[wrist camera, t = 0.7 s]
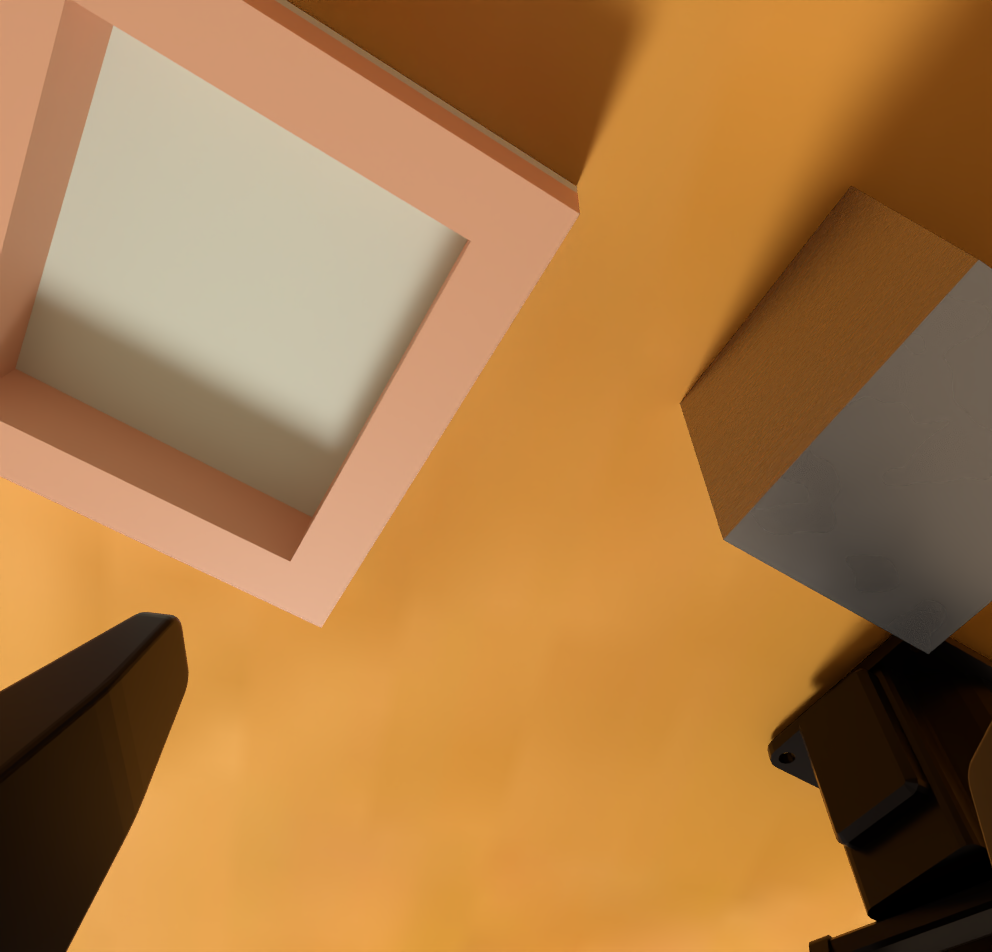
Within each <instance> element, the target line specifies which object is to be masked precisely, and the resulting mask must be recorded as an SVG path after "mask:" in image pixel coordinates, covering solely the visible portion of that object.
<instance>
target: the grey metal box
mask: <svg viewBox="0 0 992 952" xmlns="http://www.w3.org/2000/svg"><path fill="white" fill-rule="evenodd" d="M680 405H681V408H682V412H683V415H684V418H685V421H686V424H687V427H688V430H689V434H690V437H691V440H692V443H693V446H694V449H695V452H696V455H697V459H698V462H699V465H700V468H701V471H702V474H703V477H704V481H705V484H706V487H707V490H708V493H709V496H710V499H711V503H712V506H713V509H714V512H715V515H716V518H717V521H718V525H719V528H720V531H721V534H722V537H723V540H725V541H726V542H728V543H730V544H732V545H734V546H735V547H737V548H739V549H741V550H743V551H744V552H746V553H748V554H750V555H752V556H753V557H755V558H757V559H759V560H760V561H762V562H764V563H766V564H768V565H769V566H771V567H773V568H775V569H777V570H778V571H780V572H782V573H784V574H786V575H787V576H789V577H791V578H793V579H795V580H796V581H798V582H800V583H802V584H804V585H805V586H807V587H809V588H811V589H812V590H814V591H816V592H818V593H820V594H821V595H823V596H825V597H827V598H829V599H830V600H832V601H834V602H836V603H838V604H839V605H841V606H843V607H845V608H847V609H848V610H850V611H852V612H854V613H856V614H857V615H859V616H861V617H863V618H864V619H866V620H868V621H870V622H872V623H873V624H875V625H877V626H879V627H881V628H882V629H884V630H886V631H888V632H890V633H891V634H893V635H895V636H897V637H899V638H900V639H902V640H904V641H906V642H908V643H909V644H911V645H913V646H915V647H916V648H918V649H920V650H922V651H924V652H925V653H927V654H929V653H930V652H931V651H933V650H934V649H935V648H936V647H937V646H939V645H940V644H941V643H942V642H943V641H945V640H946V639H947V638H948V637H949V636H951V635H952V634H953V633H954V632H955V631H957V630H958V629H959V628H960V627H961V626H963V625H964V624H965V623H966V622H967V621H968V620H970V619H971V618H972V617H973V616H974V615H976V614H977V613H978V612H979V611H980V610H982V609H983V608H984V607H985V606H986V605H988V604H989V603H990V602H991V601H992V269H991V268H990V267H989V266H987V265H986V264H984V263H983V262H981V261H980V260H979V259H977V258H975V257H973V256H972V255H970V254H968V253H966V252H965V251H963V250H961V249H960V248H958V247H956V246H954V245H953V244H951V243H949V242H947V241H946V240H944V239H942V238H941V237H939V236H937V235H935V234H934V233H932V232H930V231H929V230H927V229H925V228H923V227H922V226H920V225H918V224H916V223H915V222H913V221H911V220H910V219H908V218H906V217H904V216H903V215H901V214H899V213H897V212H896V211H894V210H892V209H891V208H889V207H887V206H885V205H884V204H882V203H880V202H879V201H877V200H875V199H873V198H872V197H870V196H868V195H866V194H865V193H863V192H861V191H860V190H858V189H856V188H854V187H853V186H851V187H850V188H849V189H848V191H847V192H846V193H845V195H844V196H843V197H842V198H841V200H840V201H839V202H838V203H837V205H836V206H835V207H834V209H833V210H832V211H831V212H830V214H829V215H828V216H827V217H826V219H825V220H824V221H823V223H822V224H821V225H820V226H819V228H818V229H817V230H816V231H815V233H814V234H813V235H812V236H811V238H810V239H809V240H808V242H807V243H806V244H805V245H804V247H803V248H802V249H801V250H800V252H799V253H798V254H797V256H796V257H795V258H794V259H793V261H792V262H791V263H790V264H789V266H788V267H787V268H786V270H785V271H784V272H783V273H782V275H781V276H780V277H779V278H778V280H777V281H776V282H775V283H774V285H773V286H772V287H771V289H770V290H769V291H768V292H767V294H766V295H765V296H764V297H763V299H762V300H761V301H760V303H759V304H758V305H757V306H756V308H755V309H754V310H753V311H752V313H751V314H750V315H749V317H748V318H747V319H746V320H745V322H744V323H743V324H742V325H741V327H740V328H739V329H738V330H737V332H736V333H735V334H734V336H733V337H732V338H731V339H730V341H729V342H728V343H727V344H726V346H725V347H724V348H723V350H722V351H721V352H720V353H719V355H718V356H717V357H716V358H715V360H714V361H713V362H712V364H711V365H710V366H709V367H708V369H707V370H706V371H705V372H704V374H703V375H702V376H701V377H700V379H699V380H698V381H697V383H696V384H695V385H694V386H693V388H692V389H691V390H690V391H689V393H688V394H687V395H686V397H685V398H684V399H683V400H682V402H681V403H680Z"/></svg>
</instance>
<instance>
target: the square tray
mask: <svg viewBox="0 0 992 952" xmlns="http://www.w3.org/2000/svg"><path fill="white" fill-rule="evenodd" d="M579 214H580V211H579V202H578V194H577V186H575V185H574V184H572V183H571V182H569V181H568V180H566V179H565V178H563V177H561V176H560V175H558V174H557V173H555V172H554V171H552V170H550V169H549V168H547V167H546V166H544V165H543V164H541V163H540V162H538V161H536V160H535V159H533V158H532V157H530V156H529V155H527V154H525V153H524V152H522V151H521V150H519V149H518V148H516V147H515V146H513V145H511V144H510V143H508V142H507V141H505V140H504V139H502V138H500V137H499V136H497V135H496V134H494V133H493V132H491V131H490V130H488V129H486V128H485V127H483V126H482V125H480V124H479V123H477V122H475V121H474V120H472V119H471V118H469V117H468V116H466V115H465V114H463V113H461V112H460V111H458V110H457V109H455V108H454V107H452V106H450V105H449V104H447V103H446V102H444V101H443V100H441V99H440V98H438V97H436V96H435V95H433V94H432V93H430V92H429V91H427V90H425V89H424V88H422V87H421V86H419V85H418V84H416V83H415V82H413V81H411V80H410V79H408V78H407V77H405V76H404V75H402V74H401V73H399V72H397V71H396V70H394V69H393V68H391V67H390V66H388V65H386V64H385V63H383V62H382V61H380V60H379V59H377V58H376V57H374V56H372V55H371V54H369V53H368V52H366V51H365V50H363V49H361V48H360V47H358V46H357V45H355V44H354V43H352V42H351V41H349V40H347V39H346V38H344V37H343V36H341V35H340V34H338V33H336V32H335V31H333V30H332V29H330V28H329V27H327V26H326V25H324V24H322V23H321V22H319V21H318V20H316V19H315V18H313V17H311V16H310V15H308V14H307V13H305V12H304V11H302V10H301V9H299V8H297V7H296V6H294V5H293V4H291V3H290V2H288V1H286V0H0V476H1V477H3V478H5V479H7V480H9V481H11V482H13V483H15V484H17V485H20V486H22V487H24V488H26V489H28V490H30V491H32V492H34V493H37V494H39V495H41V496H43V497H45V498H47V499H49V500H51V501H54V502H56V503H58V504H60V505H62V506H64V507H66V508H68V509H70V510H73V511H75V512H77V513H79V514H81V515H83V516H85V517H87V518H90V519H92V520H94V521H96V522H98V523H100V524H102V525H104V526H107V527H109V528H111V529H113V530H115V531H117V532H119V533H121V534H124V535H126V536H128V537H130V538H132V539H134V540H136V541H138V542H140V543H143V544H145V545H147V546H149V547H151V548H153V549H155V550H157V551H160V552H162V553H164V554H166V555H168V556H170V557H172V558H174V559H177V560H179V561H181V562H183V563H185V564H187V565H189V566H191V567H194V568H196V569H198V570H200V571H202V572H204V573H206V574H208V575H210V576H213V577H215V578H217V579H219V580H221V581H223V582H225V583H227V584H230V585H232V586H234V587H236V588H238V589H240V590H242V591H244V592H247V593H249V594H251V595H253V596H255V597H257V598H259V599H261V600H264V601H266V602H268V603H270V604H272V605H274V606H276V607H278V608H280V609H283V610H285V611H287V612H289V613H291V614H293V615H295V616H297V617H300V618H302V619H304V620H306V621H308V622H310V623H312V624H314V625H317V626H319V627H322V626H323V624H324V623H325V621H326V619H327V618H328V616H329V615H330V613H331V611H332V610H333V608H334V607H335V605H336V603H337V602H338V600H339V599H340V597H341V595H342V594H343V592H344V591H345V589H346V587H347V586H348V584H349V583H350V581H351V579H352V578H353V576H354V575H355V573H356V571H357V570H358V568H359V567H360V565H361V563H362V562H363V560H364V559H365V557H366V555H367V554H368V552H369V551H370V549H371V547H372V546H373V544H374V543H375V541H376V539H377V538H378V536H379V535H380V533H381V531H382V530H383V528H384V527H385V525H386V523H387V522H388V520H389V519H390V517H391V515H392V514H393V512H394V511H395V509H396V507H397V506H398V504H399V503H400V501H401V499H402V498H403V496H404V495H405V493H406V491H407V490H408V488H409V487H410V485H411V483H412V482H413V480H414V479H415V477H416V475H417V474H418V472H419V471H420V469H421V467H422V466H423V464H424V463H425V461H426V459H427V458H428V456H429V455H430V453H431V451H432V450H433V448H434V447H435V445H436V443H437V442H438V440H439V439H440V437H441V435H442V434H443V432H444V431H445V429H446V427H447V426H448V424H449V423H450V421H451V419H452V418H453V416H454V415H455V413H456V411H457V410H458V408H459V407H460V405H461V403H462V402H463V400H464V399H465V397H466V395H467V394H468V392H469V391H470V389H471V387H472V386H473V384H474V383H475V381H476V379H477V378H478V376H479V375H480V373H481V371H482V370H483V368H484V367H485V365H486V363H487V362H488V360H489V359H490V357H491V355H492V354H493V352H494V351H495V349H496V347H497V346H498V344H499V343H500V341H501V339H502V338H503V336H504V335H505V333H506V331H507V330H508V328H509V327H510V325H511V323H512V322H513V320H514V319H515V317H516V315H517V314H518V312H519V311H520V309H521V307H522V306H523V304H524V303H525V301H526V299H527V298H528V296H529V295H530V293H531V291H532V290H533V288H534V287H535V285H536V283H537V282H538V280H539V279H540V277H541V275H542V274H543V272H544V271H545V269H546V267H547V266H548V264H549V263H550V261H551V259H552V258H553V256H554V255H555V253H556V251H557V250H558V248H559V247H560V245H561V243H562V242H563V240H564V239H565V237H566V235H567V234H568V232H569V231H570V229H571V227H572V226H573V224H574V222H575V221H576V219H577V218H578V216H579Z"/></svg>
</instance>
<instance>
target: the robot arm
mask: <svg viewBox="0 0 992 952" xmlns="http://www.w3.org/2000/svg"><path fill="white" fill-rule="evenodd" d="M187 683H188V664H187V657H186V651H185V644H184V637H183V630H182V626H181V622H180V621H179V619H178V618H177V617H175V616H173V615H168V614H159V613H150V612H142V613H138V614H136V615H134V616H132V617H130V618H129V619H127V620H125V621H123V622H122V623H120V624H118V625H116V626H115V627H113V628H111V629H109V630H107V631H106V632H104V633H102V634H100V635H99V636H97V637H95V638H93V639H92V640H90V641H88V642H86V643H85V644H83V645H81V646H79V647H78V648H76V649H74V650H72V651H70V652H69V653H67V654H65V655H63V656H62V657H60V658H58V659H56V660H55V661H53V662H51V663H49V664H48V665H46V666H44V667H42V668H40V669H39V670H37V671H35V672H33V673H32V674H30V675H28V676H26V677H25V678H23V679H21V680H19V681H18V682H16V683H14V684H12V685H11V686H9V687H7V688H5V689H3V690H2V691H0V952H66V951H67V950H68V948H69V946H70V944H71V942H72V940H73V938H74V936H75V934H76V932H77V930H78V928H79V927H80V925H81V923H82V921H83V919H84V917H85V915H86V913H87V911H88V909H89V907H90V905H91V903H92V902H93V900H94V898H95V896H96V894H97V892H98V890H99V888H100V886H101V884H102V882H103V880H104V878H105V877H106V875H107V873H108V871H109V869H110V867H111V865H112V863H113V861H114V859H115V857H116V855H117V853H118V852H119V850H120V848H121V846H122V844H123V842H124V840H125V838H126V836H127V834H128V832H129V830H130V828H131V826H132V824H133V822H134V820H135V818H136V815H137V813H138V811H139V808H140V806H141V804H142V801H143V799H144V796H145V794H146V791H147V789H148V786H149V784H150V781H151V779H152V776H153V773H154V771H155V768H156V766H157V763H158V761H159V758H160V755H161V753H162V750H163V748H164V745H165V743H166V740H167V738H168V735H169V732H170V730H171V727H172V725H173V722H174V720H175V717H176V714H177V712H178V709H179V707H180V704H181V702H182V699H183V697H184V694H185V691H186V687H187ZM787 752H788V753H787ZM768 753H769V757H770V760H771V762H772V764H773V765H774V766H775V767H777V768H779V769H781V770H783V771H785V772H787V773H789V774H791V775H793V776H795V777H797V778H799V779H801V780H803V781H805V782H807V783H809V784H811V785H813V786H815V787H817V788H819V789H820V792H821V795H822V798H823V801H824V804H825V807H826V810H827V813H828V816H829V819H830V822H831V824H832V827H833V830H834V833H835V836H836V839H837V840H838V842H839V843H841V844H843V845H844V848H845V851H846V854H847V857H848V860H849V863H850V866H851V869H852V871H853V874H854V877H855V880H856V883H857V886H858V889H859V892H860V895H861V898H862V900H863V903H864V906H865V909H866V912H867V915H868V916H869V917H870V918H871V919H874V920H876V922H874V923H871V924H868V925H866V926H863V927H860V928H858V929H855V930H852V931H849V932H847V933H844V934H841V935H839V936H836V937H833V938H832V937H831V936H829V935H827V936H824V937H822V938H819V939H816V940H814V941H811V942H809V950H810V952H992V661H991V660H989V659H987V658H986V657H984V656H982V655H980V654H978V653H977V652H975V651H973V650H971V649H970V648H968V647H966V646H964V645H963V644H961V643H959V642H957V641H956V640H954V639H952V638H950V637H948V638H947V639H946V640H945V641H943V642H942V643H941V644H940V645H939V646H937V647H936V648H935V649H934V650H933V651H931V652H930V653H929V654H927V653H925V652H924V651H922V650H920V649H918V648H916V647H915V646H913V645H911V644H909V643H908V642H906V641H904V640H902V639H900V638H899V637H897V636H895V635H892V636H891V637H890V638H889V639H888V640H887V641H885V642H884V643H883V644H882V645H881V646H880V647H879V648H877V649H876V650H875V651H874V652H873V653H872V654H871V655H869V656H868V657H867V658H866V659H865V660H864V661H863V662H861V663H860V664H859V665H858V666H857V667H856V668H855V669H853V670H852V671H851V672H850V673H849V674H848V675H847V676H845V677H844V678H843V679H842V680H841V681H840V682H839V683H837V684H836V685H835V686H834V687H833V688H832V689H831V690H829V691H828V692H827V693H826V694H825V695H824V696H823V697H821V698H820V699H819V700H818V701H817V702H816V703H815V704H813V705H812V706H811V707H810V708H809V709H808V710H807V711H806V712H804V713H803V714H802V715H801V716H800V717H799V718H798V719H796V720H795V721H794V722H793V723H792V724H791V725H790V726H788V727H787V728H786V729H785V730H784V731H783V732H782V733H780V734H779V735H778V736H777V737H776V738H775V739H774V740H772V741H771V742H770V744H769V745H768Z"/></svg>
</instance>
